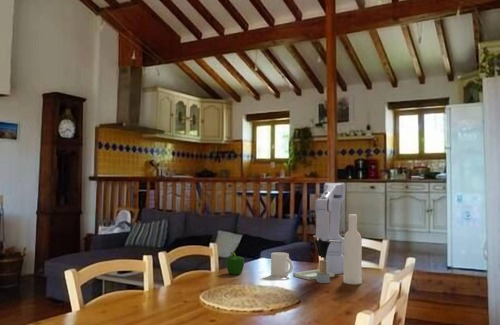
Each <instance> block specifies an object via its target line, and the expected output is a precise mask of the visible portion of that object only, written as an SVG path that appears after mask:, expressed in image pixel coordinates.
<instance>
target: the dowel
mask: <svg viewBox="0 0 500 325" xmlns="http://www.w3.org/2000/svg"><path fill="white" fill-rule="evenodd" d="M319 270H320V274H321V275H327V261H326V259H325V260H321V259H320V260H319Z"/></svg>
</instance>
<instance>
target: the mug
mask: <svg viewBox="0 0 500 325" xmlns="http://www.w3.org/2000/svg"><path fill="white" fill-rule="evenodd" d="M293 265H294V264H293V261H292V260H291V258H290V255H289V252H288V253H287V252H278V251H277V252H276V251H275V252H272V253H270V275H271V276H272V277H273V278H274V277H275V278H277V277H280V278H281V277H288V276H289V275H290V274H291V273H292V271H293V267H294V266H293Z"/></svg>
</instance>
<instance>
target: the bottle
mask: <svg viewBox="0 0 500 325" xmlns="http://www.w3.org/2000/svg"><path fill="white" fill-rule="evenodd" d="M347 218H348V230H347V231H346V232H345V234H344V236H343V239H344V253H343V255H344V273H343V276H342V277H343V278H342V279H343V283H344V284H347V285H362V281H363V278H362V277H363V275H362V268H363V265H362V262H363V260H362V255H363V254H362V253H363V252H362V251H363V248H362V247H363V245H362V244H363V243H362V241H363V238H362V236H361V233H360V232H359V231H358V215H357V214H356V213H355V214H354V213H353V214H352V213H349V214H348V217H347Z"/></svg>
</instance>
